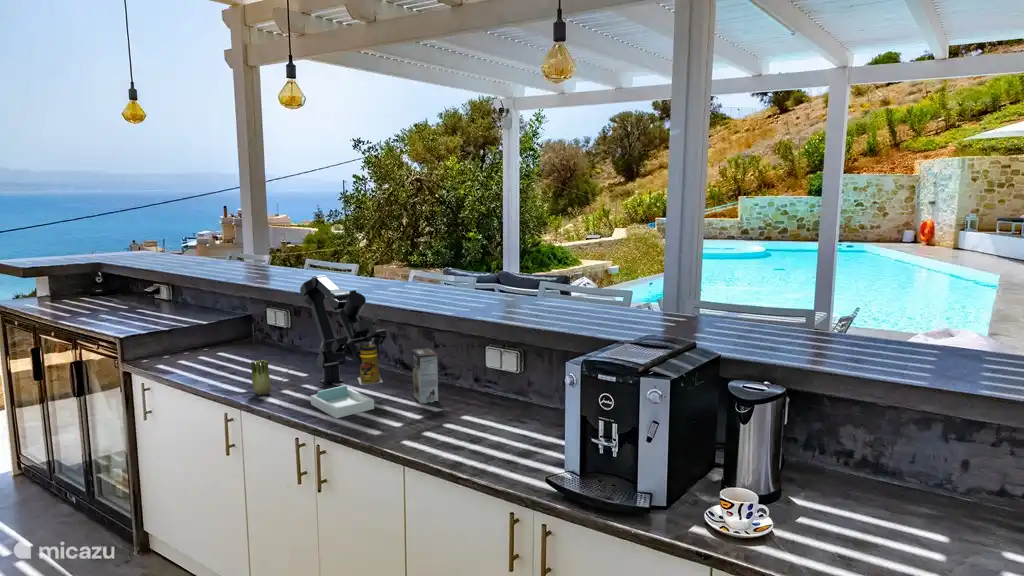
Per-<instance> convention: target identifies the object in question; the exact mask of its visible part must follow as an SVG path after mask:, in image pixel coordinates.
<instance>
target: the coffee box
mask: <svg viewBox="0 0 1024 576" xmlns="http://www.w3.org/2000/svg"><path fill="white" fill-rule="evenodd" d="M411 363H412V365H411V366H412V385H413V387H412V389H413V390H412V391H413V398H415V399H416V400H417V401H418V402H419V404H421V405H422V403H423V404H428V402H430V403H435V402H434V401H437V402H439V374H438V373H439V372H438V371H439V369H438V354H437V353H436V351H434V350H433V349H431V348H429V347H428V348H416V349H411Z"/></svg>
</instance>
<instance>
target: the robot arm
mask: <svg viewBox="0 0 1024 576" xmlns="http://www.w3.org/2000/svg"><path fill="white" fill-rule="evenodd" d="M299 291H300V293H299V294H300V295H301V296H302V298H303V301H304V303H306V304H307V305H308V306H309V307H310V308H311V311H312V315H313V318H314V322H315V325H316V328H317V331H318V335H319V338H320V341H321V344H320V347H319V349H318V350H319V354H318V356H317V358H316V365H317V366H318V367H319V368H321V369H322V373H323V376H322V377H323V379H320V380H319V382H320V381H321V383H322V382H323V383H322V384H324V383H325V385H326V384H327V386H330V385H333V383H335V384H338V382H339V383H342V382H341V381H344V379H342V378H341V374H340V366H341V365H345V363H346V356H347V357H349V358H350V359H352V360H353V361H355V362H356V363H357V364H358V365H359V366H360V365H362V360H361V358H360V353H359V352H358V350H357V348H356V347H357V346H356V345H361V344H367V343H368V344H372V345H376V347H377V353H378V361H379V362H380V346H381V345H383V344H385V341H386V340H387V338H388V337H389V333H388V331H387V330H386V329H377V330H374V332H373V334H372V335H369V333H370V330H371V329H372V330H373V329H374V328H375V327H376V326H377V319H376V318H375V316H369V317H367V318H365V319H361V320H360V318H359V315H360V314H361V312H362V310H363V308H364V306H365V304H366V302H367V300H366V297H365V296H364V295H363V294H362V293H360V292H357V290H356V289H354V290H353V289H352V290H349V291H348V290H346V289H341V288H339V287H338V286H337V285H336V284H335V283H333V282H332V281H331V280H330V279H329V276H328V275H325V274H322V275H314V276H312V277H311V278H310V279H308V280H306V281H304V282H303V283H302V284H301V286H300V290H299ZM325 298H328V304H329V306H330V308H331V309H332V310H333V311H339V313H338V317H337V321H338V322H341V324H342V327H343V329H344V331H343V333H344V336H338V337H335V334H334V331H333V329H332V328H333V327H332V324H331V322H330V321H331V320H330V319H329V315H328V312H327V309H326V305H325Z"/></svg>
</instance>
